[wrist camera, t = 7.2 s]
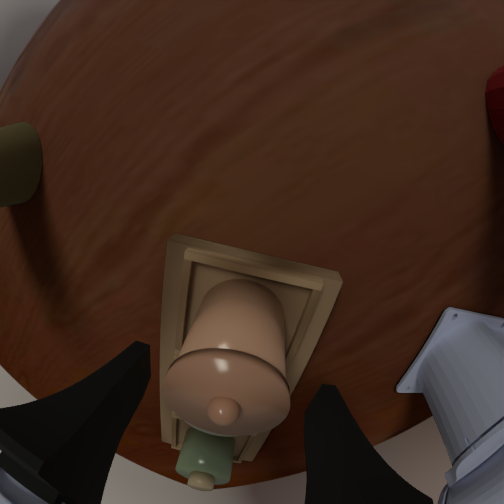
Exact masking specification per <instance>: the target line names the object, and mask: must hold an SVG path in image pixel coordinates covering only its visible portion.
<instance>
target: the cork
mask: <svg viewBox="0 0 504 504" xmlns="http://www.w3.org/2000/svg"><path fill="white" fill-rule="evenodd" d="M41 170H42V149H41V144H40V139H39V137H38V134H37V132H36V130H35V129H34V128H33V127H32V126H31V125H30V124H29V123H26V122H19V123H15V124H11V125H7V126H4V127H0V207H4V206H9V205H14V204H20V203H24V202H26V201H28V200H29V199H31V197H32V196H33V194H34V193H35V191H36V189H37V186H38V184H39V181H40V176H41Z"/></svg>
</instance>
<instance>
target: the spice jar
mask: <svg viewBox="0 0 504 504" xmlns="http://www.w3.org/2000/svg"><path fill="white" fill-rule="evenodd" d="M162 392H163V396H164V399H165V401H166V402H167V404H168V405H169V407H170V408H171V409H172V410H173V411H174V412H175V413H176V414H177V415H178V416H179V417H181V418H182V419H183V420H185V421H186V422H188V423H190V424H192V425H194V426H196V427H198V428H201V429H203V430H206V431H209V432H213V433H217V434H223V435H232V436H243V435H253V434H258V433H262V432H265V431H268V430H270V429H272V428H274V427H276V426H277V425H279V424H280V423H281V422H282V421H283V420H284V419H285V418H286V416H287V415H288V413H289V410H290V388H289V385H288V382H287V380H286V366H285V331H284V311H283V307H282V304H281V302H280V300H279V299H278V297H277V296H276V295H275V294H274V293H273V292H272V291H271V290H270V289H269V288H267V287H266V286H264V285H262V284H260V283H258V282H255V281H252V280H247V279H231V280H226V281H223V282H220V283H219V284H217V285H215V286H214V287H212V288H211V289H210V290H209V291H208V292H207V293H206V295H205V296H204V298H203V300H202V302H201V305H200V307H199V309H198V311H197V314H196V316H195V318H194V320H193V323H192V325H191V327H190V330H189V332H188V334H187V337H186V339H185V341H184V344H183V346H182V348H181V351H180V353H179V355H178V358H177V359H176V360H174V361H173V363H172V364H171V365H170V367H169V369H168V371H167V373H166V376H165V378H164V380H163V384H162Z"/></svg>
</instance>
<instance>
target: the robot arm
mask: <svg viewBox="0 0 504 504" xmlns="http://www.w3.org/2000/svg"><path fill="white" fill-rule="evenodd" d="M453 315H454V316H453ZM150 377H151V369H150V345H148V344H145V343H142V342H139V341H135V342H134V343H132V344H131V345H130V346H129V347H127V348H126V349H125V350H124V351H122V352H121V353H120V354H119V355H117V356H116V357H115V358H113V359H112V360H111V361H109V362H108V363H107V364H105V365H104V366H102V367H101V368H100V369H98V370H97V371H95V372H94V373H92V374H90V375H89V376H87V377H86V378H84V379H83V380H81V381H79V382H77V383H76V384H74V385H72V386H70V387H68V388H66V389H64V390H62V391H60V392H57V393H55V394H53V395H50V396H48V397H45V398H42V399H39V400H36V401H33V402H29V403H26V404H22V405H17V406H12V407H6V408H0V450H1V451H2V452H1V453H0V504H101V500H102V496H103V491H104V487H105V484H106V480H107V477H108V473H109V470H110V467H111V464H112V461H113V458H114V455H115V453H116V450H117V447H118V444H119V442H120V440H121V437H122V435H123V433H124V431H125V429H126V427H127V426H128V424H129V422H130V420H131V418H132V416H133V414H134V413H135V411H136V409H137V407H138V405H139V403H140V401H141V399H142V398H143V396H144V393H145V390H146V388H147V385H148V383H149V380H150ZM396 391H397V392H398V393H423V394H424V396H425V398H426V400H427V403H428V405H429V407H430V410H431V412H432V414H433V417H434V419H435V421H436V424H437V426H438V429H439V431H440V434H441V436H442V439H443V442H444V444H445V447H446V449H447V452H448V455H449V458H450V461H451V463H452V466H453V467H452V468H451V469H450V470H449V471H447V472H446V473H445V477H446V480H447V485H445V487H444V488H443V490H442V492H441V494H440V497H439V500H438V504H504V318H500V317H495V316H491V315H486V314H481V313H476V312H471V311H466V310H462V309H457V308H452V307H449V308H447V309H446V310H445V311H444V312H443V314H442V316H441V318H440V319H439V321H438V323H437V325H436V326H435V328H434V330H433V332H432V333H431V335H430V337H429V338H428V340H427V342H426V343H425V345H424V347H423V348H422V350H421V351H420V353H419V354H418V356H417V357H416V359H415V360H414V362H413V363H412V365H411V366H410V368H409V369H408V371H407V372H406V373H405V375H404V376H403V378H402V379H401V380H400V382H399V383H398V385H397V386H396ZM304 441H305V455H306V471H307V484H306V497H305V504H433V500H432V499H431V498H430V497H428V496H427V495H425V494H423V493H422V492H420V491H419V490H417V489H416V488H414V487H413V486H412V485H410V484H409V483H408V482H406V481H405V480H404V479H403V478H402V477H401V476H399V475H398V474H397V473H396V472H395V471H394V470H393V469H392V468H391V467H390V466H389V465H388V464H387V463H386V462H385V461H384V460H383V458H382V457H381V456H380V455H379V454H378V452H376V450H375V449H374V448H373V446H372V445H371V444H370V442H369V441H368V439H367V438H366V436H365V435H364V434H363V432H362V431H361V429H360V427H359V426H358V424H357V423H356V421H355V419H354V418H353V416H352V414H351V413H350V411H349V409H348V407H347V406H346V404H345V402H344V400H343V398H342V397H341V395H340V393H339V391H338V390H337V388H336V386H335V385H326V384H322V385H321V387H320V388H319V390H318V392H317V393H316V395H315V397H314V398H313V400H312V401H311V403H310V405H309V406H308V408H307V409H306V411H305V421H304Z"/></svg>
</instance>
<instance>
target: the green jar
mask: <svg viewBox="0 0 504 504" xmlns="http://www.w3.org/2000/svg"><path fill="white" fill-rule="evenodd" d="M235 443H236V442H235V439H234V437H233V436H232V437H224V436H216V435H211V434H207V433H204V432H202V431H199V430H197V429H195V428H193V427H191V428H189V429H188V430H187V431H186V434H185V438H184V441H183V445H182V448H181V452H180V455H179V459H178V462H177V465H176V471H177V472H178V473H179V474H180V475H182V476H183V477H185V478H188V479H189V480H188V484H187V485H188V486H190V487H191V488H194V489H197V490H201V491H212V490H213V485H214V484H225V483H228V482H229V481H230V476H231V470H232V463H233V456H234V449H235Z"/></svg>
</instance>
